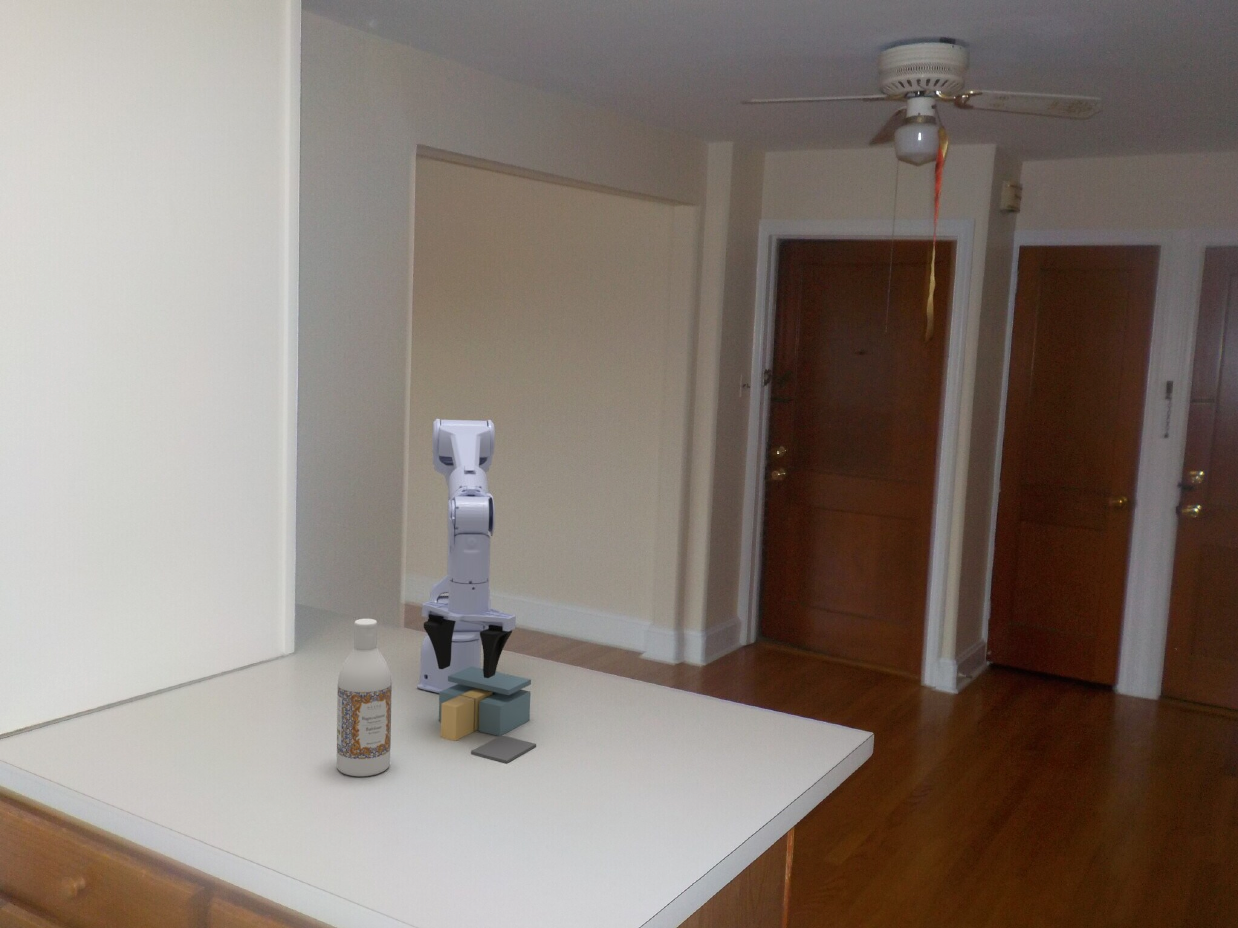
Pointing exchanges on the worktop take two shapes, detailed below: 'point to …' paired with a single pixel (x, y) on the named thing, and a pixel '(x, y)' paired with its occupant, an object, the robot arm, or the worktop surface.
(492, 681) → the teal block stack
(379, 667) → the bath foam
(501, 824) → the worktop surface
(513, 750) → the pad
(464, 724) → the tan grooved block
